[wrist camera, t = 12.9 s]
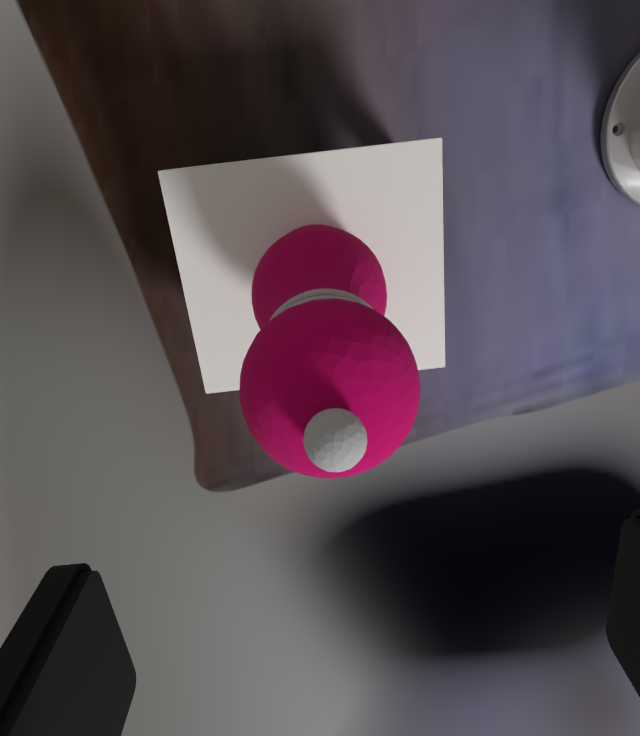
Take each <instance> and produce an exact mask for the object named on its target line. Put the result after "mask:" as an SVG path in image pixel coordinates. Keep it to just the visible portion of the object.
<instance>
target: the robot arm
mask: <svg viewBox="0 0 640 736" xmlns="http://www.w3.org/2000/svg"><path fill="white" fill-rule="evenodd" d="M613 127H615V130H614V132H613V131H612V130H613ZM600 138H601V155H602V159H603V163H604V168H605V170H606V172H607V174H608V176H609V179H610V181H611V183H612V184H613V185H614V186H615V188H616V189H617V190H618V191H619V193H620V194H621V195H623V196H624V197H625V198H626V199H628V200H629V201H630V202H632V203H634V204H636V205H638V206H640V52H639V53H638V54H637V55H636V56H635V57H634V59H633V60H632V61H631V62H630V63H629V64H628V66H627V67H626V69H625V70H624V72H623V73H622V74H621V76H620V77H619V79H618V80H617V82H616V85H615V87H614V89H613V91H612V93H611V95H610V97H609V99H608V102H607V106H606V109H605V112H604V115H603V120H602V128H601V135H600ZM606 633H607V638H608V641H609V644H610V646H611V648H612V651H613V652H614V654H615V656H616V658H617V659H618V661H619V663H620V664H621V666H622V667H623V669H624V671H625V673H626V674H627V676H628V678H629V679H630V681H631V683H632V685H633V686H634V688H635V690H636V691H637V693H638V695H639V697H640V509H639V510H634V511H633V512H632V514H631V517H630V519H627V520H624V521H623V524H622V528H621V535H620V541H619V547H618V554H617V560H616V566H615V573H614V580H613V585H612V592H611V599H610V605H609V612H608V618H607V624H606ZM135 686H136V672H135V668H134V666H133V663H132V660H131V657H130V654H129V652H128V649H127V646H126V643H125V641H124V638H123V636H122V633H121V630H120V627H119V625H118V622H117V619H116V616H115V614H114V611H113V608H112V605H111V603H110V600H109V598H108V595H107V592H106V589H105V586H104V583H103V581H102V578H101V575H100V574H99V572H98V571H92V570H91V568H90V566H89V565H87V564H85V563H81V564H71V565H61V566H53V567H51V568H50V569H49V570H48V571H47V572H46V574H45V575H44V577H43V579H42V580H41V582H40V584H39V585H38V587H37V589H36V590H35V592H34V594H33V595H32V597H31V599H30V600H29V602H28V604H27V605H26V607H25V609H24V610H23V612H22V613H21V615H20V617H19V618H18V620H17V622H16V623H15V625H14V627H13V628H12V630H11V632H10V633H9V635H8V637H7V638H6V640H5V642H4V643H3V645H2V646H1V648H0V736H121V733H122V730H123V727H124V724H125V721H126V717H127V714H128V711H129V708H130V705H131V701H132V698H133V695H134V692H135Z"/></svg>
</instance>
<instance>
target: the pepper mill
mask: <svg viewBox="0 0 640 736" xmlns="http://www.w3.org/2000/svg"><path fill="white" fill-rule="evenodd" d="M252 306H253V311H254V316H255V319H256V321H257V324H258V326H259V328H260V331H259V332H258V333H257V335H256V337H255V338H254V340H253V342H252V344H251V346H250V347H249V349H248V351H247V354H246V356H245V358H244V361H243V365H242V369H241V373H240V403H241V408H242V412H243V416H244V419H245V421H246V423H247V426H248V428H249V431H250V432H251V434H252V435H253V437H254V439H255V440H256V442H257V443H258V445H259V446H260V447H261V448H262V449H263V450H264V451H265V452H266V453H267V454H268V455H269V456H270V457H271V458H272V459H273V460H274V461H276V462H277V463H279V464H281V465H282V466H284V467H285V468H287V469H289V470H292V471H294V472H297V473H300V474H303V475H308V476H313V477H318V478H340V477H349V476H352V475H355V474H359V473H362V472H364V471H367V470H369V469H371V468H373V467H375V466H377V465H379V464H380V463H381V462H383V461H384V460H386V459H387V458H389V457H390V456H391V455H392V454H393V453H394V452H395V451H396V449H398V447H399V446H400V445H401V444H402V443H403V441H404V440H405V438H406V437H407V435H408V434H409V432H410V430H411V428H412V426H413V423H414V420H415V418H416V415H417V413H418V405H419V398H420V391H421V390H420V378H419V373H418V368H417V364H416V361H415V358H414V355H413V353H412V350H411V348H410V346H409V344H408V342H407V341H406V339H405V338H404V336H403V335H402V334H401V332H400V331H399V330H398V329H397V327H396V326H395V325H394V324H393V323H392V322H391V321H390V320H389V319H387V318H386V317H384V315H385V311H386V306H387V290H386V282H385V278H384V274H383V271H382V267H381V265H380V263H379V261H378V260H377V258H376V256H375V254H374V253H373V252H372V251H371V249H370V248H369V247H368V246H367V245H366V244H365V243H364V242H363V241H361V240H360V239H359V238H357V237H356V236H354V235H352V234H351V233H348V232H346V231H344V230H341V229H338V228H335V227H332V226H328V225H322V224H313V225H306V226H302V227H299V228H297V229H295V230H293V231H291V232H289V233H288V234H286V235H284V236H283V237H281V238H280V239H278V240H277V241H276V242H275V243H274V244H273V245H271V246H270V247H269V248H268V249H267V251H266V252H265V254H264V255H263V256H262V258H261V259H260V261H259V263H258V266H257V268H256V270H255V273H254V277H253V282H252Z"/></svg>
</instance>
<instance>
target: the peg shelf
mask: <svg viewBox="0 0 640 736" xmlns="http://www.w3.org/2000/svg"><path fill="white" fill-rule="evenodd" d="M158 176H159V180H160V185H161V190H162V194H163V199H164V203H165V208H166V213H167V217H168V222H169V226H170V231H171V236H172V240H173V245H174V249H175V254H176V258H177V263H178V268H179V272H180V277H181V281H182V286H183V291H184V295H185V300H186V304H187V309H188V314H189V318H190V323H191V327H192V332H193V336H194V341H195V346H196V350H197V355H198V359H199V364H200V369H201V373H202V378H203V382H204V387H205V391H206V394H208V393H216V392H225V391H234V390H240V373H241V369H242V365H243V361H244V358H245V356H246V354H247V351H248V349H249V347H250V346H251V344H252V342H253V340H254V338H255V337H256V335H257V333H258V332H259V331H260V328H259V326H258V324H257V321H256V319H255V316H254V311H253V306H252V282H253V277H254V273H255V270H256V268H257V266H258V263H259V261H260V259H261V258H262V256H263V255H264V254H265V252H266V251H267V249H268V248H269V247H270V246H271V245H273V244H274V243H275V242H276V241H277V240H278V239H280V238H281V237H283V236H284V235H286V234H288V233H289V232H291V231H293V230H295V229H297V228H299V227H302V226H306V225H313V224H322V225H328V226H332V227H335V228H338V229H341V230H344V231H346V232H348V233H351V234H352V235H354V236H356V237H357V238H359V239H360V240H361V241H363V242H364V243H365V244H366V245H367V246H368V247H369V248H370V249H371V251H372V252H373V253H374V254H375V256H376V258H377V260H378V261H379V263H380V265H381V267H382V271H383V274H384V278H385V282H386V290H387V306H386V311H385V315H384V317H386V318H387V319H389V320H390V321H391V322H392V323H393V324H394V325H395V326H396V327H397V329H398V330H399V331H400V332H401V334H402V335H403V336H404V338H405V339H406V341H407V342H408V344H409V346H410V348H411V350H412V353H413V355H414V358H415V361H416V364H417V368H418V370H423V369H432V368H441V367H445V320H444V248H443V176H442V138H430V139H421V140H413V141H404V142H396V143H387V144H379V145H370V146H362V147H353V148H345V149H336V150H328V151H319V152H311V153H302V154H294V155H286V156H277V157H269V158H260V159H252V160H243V161H235V162H226V163H218V164H209V165H201V166H192V167H184V168H175V169H167V170H161V171H158Z"/></svg>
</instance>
